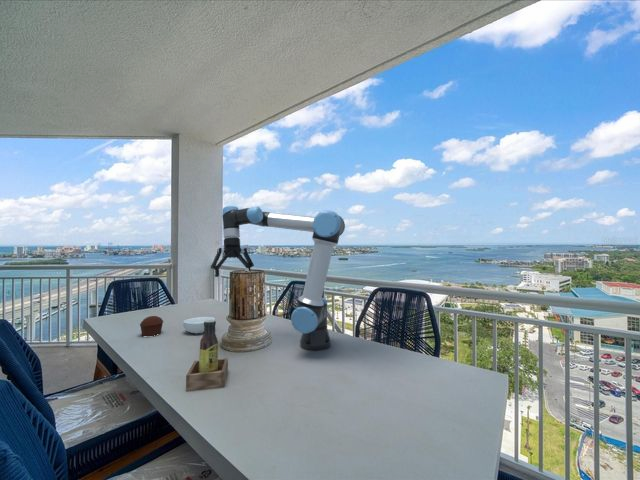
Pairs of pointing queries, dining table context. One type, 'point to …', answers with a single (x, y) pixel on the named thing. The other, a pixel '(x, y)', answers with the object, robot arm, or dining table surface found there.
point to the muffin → (151, 326)
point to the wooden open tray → (207, 376)
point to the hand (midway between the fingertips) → (234, 282)
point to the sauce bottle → (208, 349)
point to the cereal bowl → (196, 324)
